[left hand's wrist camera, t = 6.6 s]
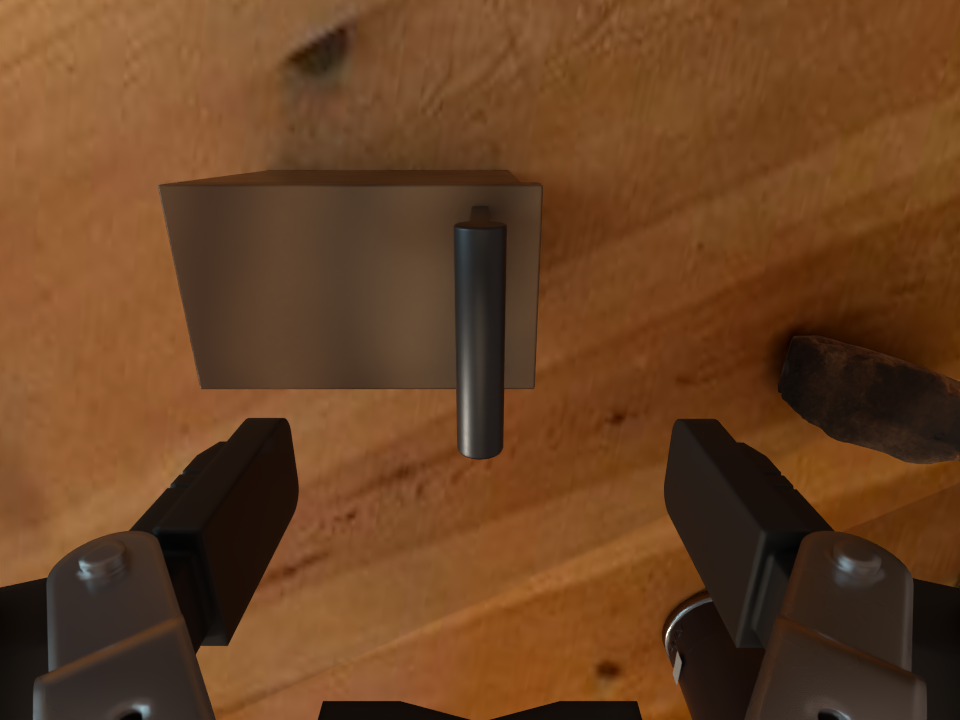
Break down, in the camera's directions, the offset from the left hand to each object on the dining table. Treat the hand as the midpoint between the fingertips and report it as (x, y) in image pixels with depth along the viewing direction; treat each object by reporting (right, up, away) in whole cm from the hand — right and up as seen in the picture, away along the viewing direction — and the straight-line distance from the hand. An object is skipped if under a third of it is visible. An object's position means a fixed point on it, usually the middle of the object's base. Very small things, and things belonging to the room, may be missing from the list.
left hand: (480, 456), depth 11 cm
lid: (-5, +5, +13) cm, 15 cm away
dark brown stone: (+26, +1, +27) cm, 37 cm away
